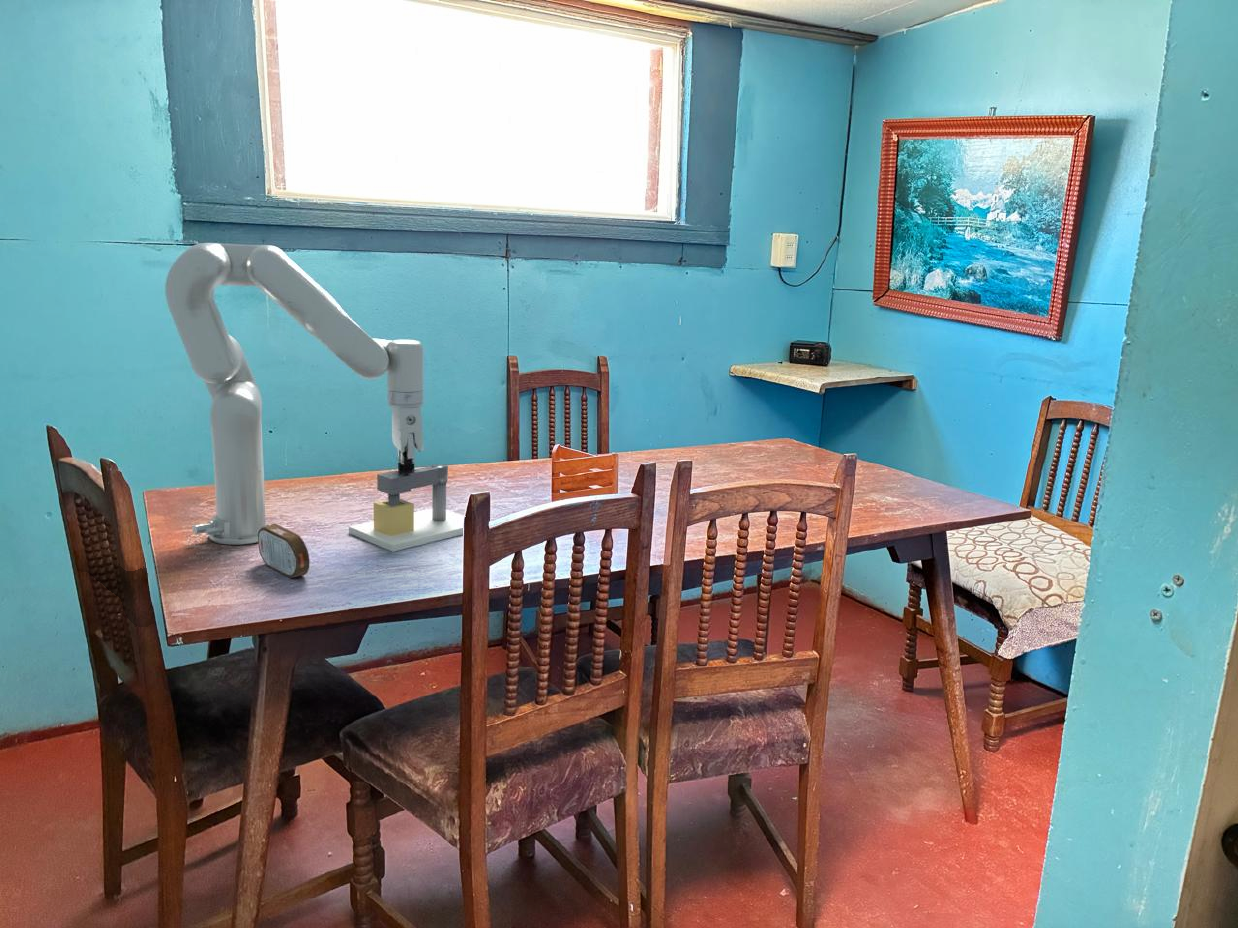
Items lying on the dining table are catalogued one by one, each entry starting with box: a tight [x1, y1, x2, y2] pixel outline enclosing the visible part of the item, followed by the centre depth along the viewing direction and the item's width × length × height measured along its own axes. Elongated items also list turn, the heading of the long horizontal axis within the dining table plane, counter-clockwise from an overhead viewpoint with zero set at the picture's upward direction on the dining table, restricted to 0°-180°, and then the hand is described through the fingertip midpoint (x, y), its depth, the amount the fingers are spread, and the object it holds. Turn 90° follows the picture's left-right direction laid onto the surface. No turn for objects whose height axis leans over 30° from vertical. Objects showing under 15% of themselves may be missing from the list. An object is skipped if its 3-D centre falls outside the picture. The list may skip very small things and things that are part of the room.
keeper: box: [376, 463, 449, 495], centre depth 203 cm, size 16×5×4 cm, turn 139°
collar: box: [373, 498, 415, 536], centre depth 201 cm, size 6×6×6 cm
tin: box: [257, 523, 311, 579], centre depth 178 cm, size 15×3×8 cm, turn 48°
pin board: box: [348, 483, 464, 553], centre depth 205 cm, size 24×16×10 cm, turn 138°
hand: (406, 480), depth 206 cm, fingers closed
